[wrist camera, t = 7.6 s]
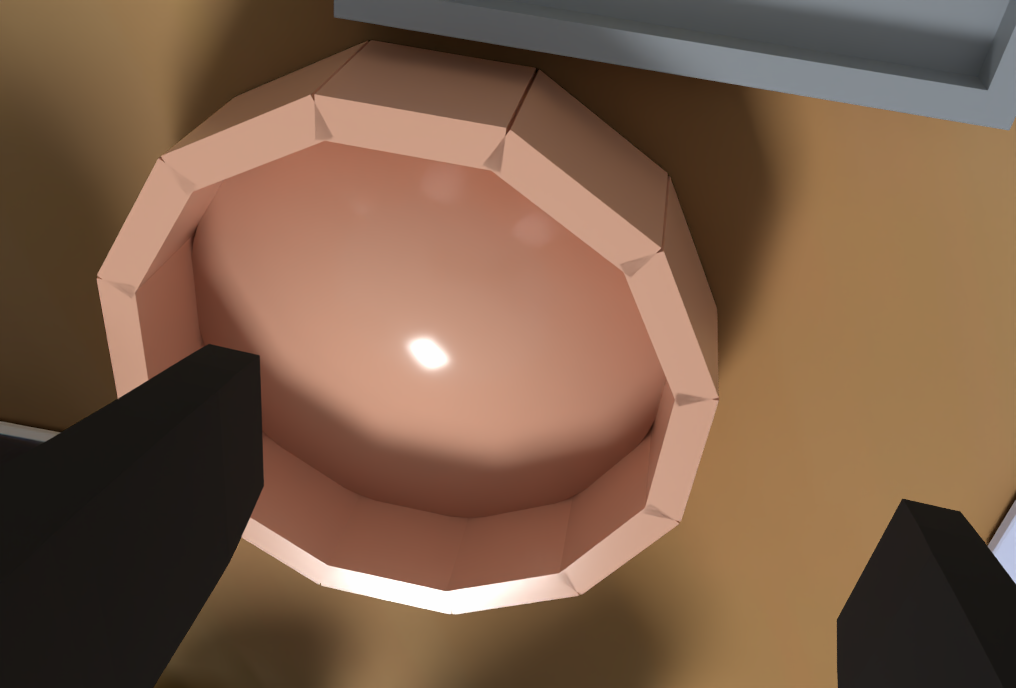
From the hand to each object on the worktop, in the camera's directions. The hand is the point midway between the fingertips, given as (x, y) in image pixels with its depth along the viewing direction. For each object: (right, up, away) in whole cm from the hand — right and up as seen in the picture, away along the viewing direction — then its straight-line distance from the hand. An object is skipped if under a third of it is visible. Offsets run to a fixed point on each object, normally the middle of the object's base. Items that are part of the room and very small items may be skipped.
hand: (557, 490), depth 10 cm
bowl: (-2, +2, +11) cm, 12 cm away
